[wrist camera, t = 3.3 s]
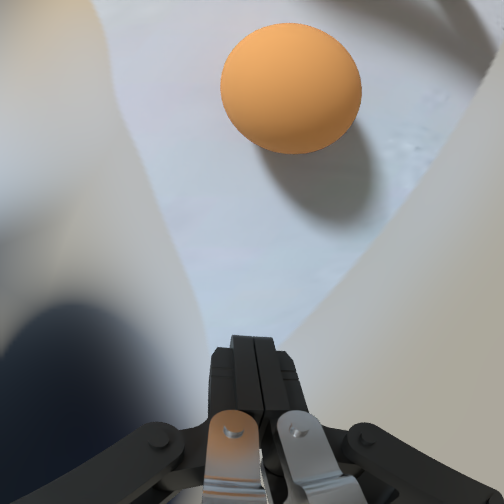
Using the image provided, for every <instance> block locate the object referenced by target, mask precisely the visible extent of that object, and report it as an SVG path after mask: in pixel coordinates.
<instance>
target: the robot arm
mask: <svg viewBox="0 0 504 504" xmlns="http://www.w3.org/2000/svg"><path fill="white" fill-rule="evenodd" d="M298 379H299V378H298V375H297V373H296V369H295V365H294V362H293V360H292V359H291V358H290V356H289V355H288V354H287V353H286V352H285V351H276V349H275V345H274V341H273V338H271V337H255V336H253V337H252V336H240V335H232V337H231V342H230V348H222V347H217V349H216V350H215V352H214V353H213V354H212V356H211V365H210V375H209V389H208V390H209V391H208V418H207V420H206V421H205V422H204V423H202V424H201V425H199V426H197V427H194V428H189V429H183V430H178V429H176V428H175V427H174V426H172V425H170V424H167V423H163V422H150V423H147V424H144V425H142V426H141V427H139V428H138V429H136V430H135V431H133V432H132V433H130V434H129V435H127V436H126V437H124V438H123V439H121V440H120V441H118V442H117V443H115V444H114V445H112V446H111V447H109V448H107V449H106V450H104V451H103V452H101V453H100V454H98V455H96V456H95V457H93V458H92V459H90V460H88V461H87V462H85V463H83V464H82V465H80V466H78V467H77V468H75V469H73V470H72V471H70V472H68V473H66V474H65V475H63V476H61V477H59V478H58V479H56V480H54V481H52V482H51V483H49V484H47V485H45V486H43V487H41V488H39V489H38V490H36V491H34V492H32V493H30V494H28V495H26V496H24V497H22V498H20V499H18V500H16V501H14V502H12V503H10V504H166V503H167V502H169V501H170V500H171V499H172V498H173V497H174V496H176V495H177V494H178V493H179V492H180V491H181V490H182V489H186V488H191V487H196V486H200V485H203V494H202V504H267V500H266V494H267V498H268V502H269V504H504V499H503V497H502V495H501V494H500V492H499V491H497V490H495V489H493V488H491V487H489V486H486V485H484V484H482V483H480V482H478V481H476V480H473V479H472V478H470V477H467V476H466V475H464V474H461V473H460V472H458V471H456V470H454V469H451V468H450V467H448V466H446V465H444V464H442V463H440V462H438V461H437V460H435V459H433V458H431V457H429V456H427V455H426V454H424V453H422V452H420V451H418V450H417V449H415V448H413V447H411V446H410V445H408V444H406V443H404V442H403V441H401V440H399V439H398V438H396V437H394V436H393V435H391V434H389V433H387V432H386V431H384V430H383V429H381V428H379V427H378V426H376V425H374V424H371V423H365V422H364V423H358V424H355V425H354V426H352V427H351V428H350V429H349V431H346V430H340V429H334V428H329V427H326V426H323V425H321V424H320V422H319V420H318V419H317V418H316V417H314V416H313V415H312V414H310V413H309V411H308V408H307V405H306V402H305V399H304V395H303V392H302V388H301V385H300V382H299V381H298ZM259 449H262V456H263V458H262V461H261V463H260V456H259ZM260 469H261V473H262V477H263V482H264V486H265V489H264V488H263V487H262V486H261V480H260ZM265 490H266V492H265Z"/></svg>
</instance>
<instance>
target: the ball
mask: <svg viewBox="0 0 504 504" xmlns="http://www.w3.org/2000/svg"><path fill="white" fill-rule="evenodd" d="M220 91H221V98H222V102H223V105H224V108H225V111H226V113H227V115H228V117H229V119H230V120H231V122H232V123H233V125H234V126H235V127H236V128H237V130H238V131H239V132H240V133H241V134H243V135H244V136H245V137H246V138H247V139H249V140H250V141H251V142H253V143H255V144H256V145H258V146H260V147H262V148H265V149H267V150H270V151H274V152H277V153H283V154H304V153H310V152H314V151H317V150H320V149H323V148H325V147H326V146H328V145H330V144H332V143H334V142H335V141H336V140H338V139H339V138H340V137H341V136H342V135H343V134H345V132H346V131H347V130H348V129H349V128H350V126H351V125H352V123H353V121H354V120H355V118H356V116H357V113H358V111H359V107H360V104H361V96H362V87H361V80H360V75H359V72H358V69H357V67H356V64H355V62H354V60H353V59H352V57H351V55H350V54H349V53H348V51H347V50H346V49H345V48H344V47H343V46H342V45H341V44H340V43H339V42H338V41H337V40H336V39H335V38H333V37H332V36H330V35H329V34H327V33H325V32H323V31H321V30H319V29H316V28H314V27H311V26H307V25H303V24H296V23H281V24H274V25H270V26H267V27H263V28H261V29H258V30H256V31H254V32H253V33H251V34H249V35H248V36H246V37H245V38H244V39H243V40H241V41H240V42H239V43H238V44H237V45H236V46H235V48H234V49H233V50H232V52H231V53H230V54H229V56H228V58H227V60H226V62H225V65H224V68H223V71H222V76H221V85H220Z"/></svg>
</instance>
